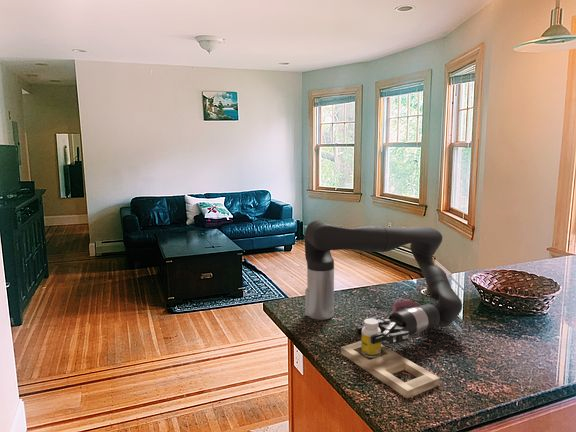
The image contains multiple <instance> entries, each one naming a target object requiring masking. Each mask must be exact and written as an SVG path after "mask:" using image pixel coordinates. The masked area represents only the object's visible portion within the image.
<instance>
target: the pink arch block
mask: <svg viewBox="0 0 576 432" xmlns="http://www.w3.org/2000/svg"><path fill="white" fill-rule="evenodd" d="M418 306H421V303H419V302H418V301H415V300H414V299H408V298H407V299H406V298H405V299H404V298H402V299H397V300H395V301H394V302H393V305H392V311H391V312H392V313H394V312H398V311H401V310H405V309H408V308H414V307H418ZM392 313H391V314H392Z"/></svg>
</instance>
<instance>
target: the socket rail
mask: <svg viewBox="0 0 576 432" xmlns="http://www.w3.org/2000/svg"><path fill="white" fill-rule="evenodd" d="M361 348H362V340H359V341H355V342H353V343H349V344H347V345H343V346H340V355H342V356H343V357H346V358H347V359H348V360H350V361H351V362H353V363H354V364H356V365H357V366H358V367H360V368H362V369H363V370H364V371H366V372H367V373H369V374H371V375H372V376H373V377H374V378H376V379H377V380H379V381H381V382H382V383H384V384H385V385H387V386H388V387H389V386H390V387H389V388H391V389H393V390H394V391H395V392H397V393H399V394H400V395H401V396H403V398H406V399H409V398H412V397H415V396H417V395H419V394H422V393H424V392H427V391H430V390H431V389H434V388H436V387H439V386H440V382H441V378H440V377H439V376H437V375H435V374H434V373H432V372H431V371H429V370H427V369H425V368H423V367H422V366H420V365H418V364H416V363H414V362H413V361H411V360H409V359H408V358H406V357H404V356H402V355H401V354H399V353H397V352H395V351H394V350H392V349H391V348H388V347H387V346H385V345H383V344H382V343H381V355H380V356H379V357H376V358H368V357H365V356H364V355H363V354H362V349H361ZM402 371H406V372H408V373H409V374H410V375H412V376H414V377H415V378H413V379H410V380H407V381H405V382H404V381H403V380H402V379H400V378H398V377H397V376H395V375H394V374H396V373H399V372H402Z"/></svg>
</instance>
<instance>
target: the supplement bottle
mask: <svg viewBox="0 0 576 432" xmlns="http://www.w3.org/2000/svg"><path fill="white" fill-rule="evenodd" d="M363 326H364V327H363V328H362V335H361V341H362V348H361V349H362V353H361V355H362V356H364V357H365V358H367V359H374V358H377V357H380V356H381V344H382V342H379V343H375V344H372V343H371V336H372V335H375V334H378V333H381V330H380V328H379V322H378V320H376V319H372V318H371V317H369V318H366V319H364V320H363Z"/></svg>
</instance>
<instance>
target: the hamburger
mask: <svg viewBox="0 0 576 432" xmlns="http://www.w3.org/2000/svg"><path fill="white" fill-rule="evenodd" d="M425 290H427V291H425ZM420 291H421V294H423V295H424V296H426V295H427V294H428V295H427V297H429V294H430V293H429V290H428V286H427V285H426V288H424V289H421V290H420ZM423 291H424V292H426V293H427V294H425V293H424V292H423Z"/></svg>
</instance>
